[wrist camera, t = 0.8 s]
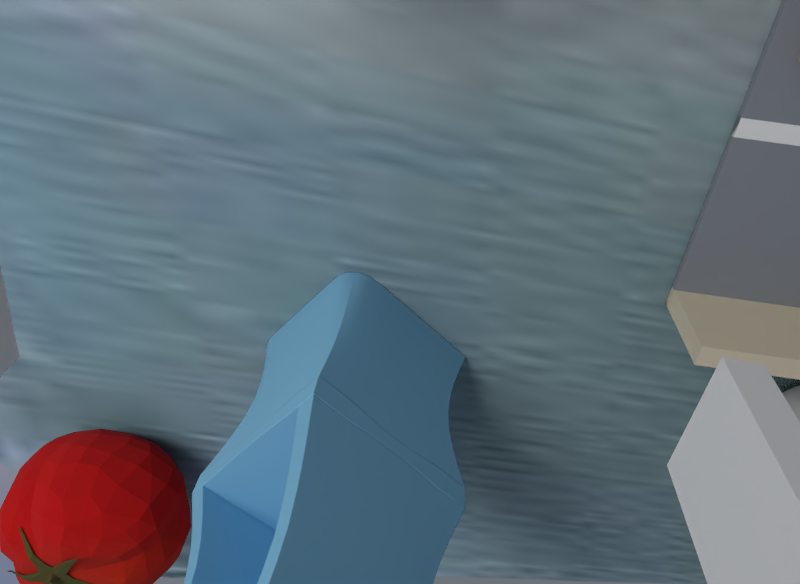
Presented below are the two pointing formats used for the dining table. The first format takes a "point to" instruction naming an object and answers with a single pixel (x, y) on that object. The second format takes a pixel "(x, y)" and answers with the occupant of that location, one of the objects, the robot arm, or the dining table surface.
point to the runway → (751, 226)
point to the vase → (337, 453)
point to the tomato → (95, 511)
